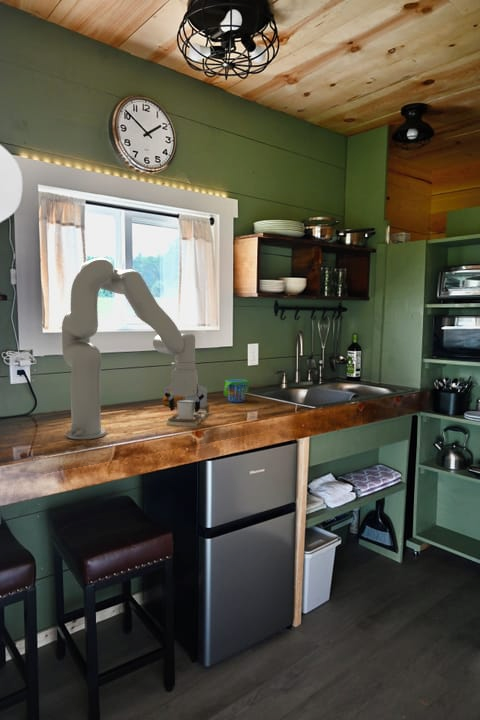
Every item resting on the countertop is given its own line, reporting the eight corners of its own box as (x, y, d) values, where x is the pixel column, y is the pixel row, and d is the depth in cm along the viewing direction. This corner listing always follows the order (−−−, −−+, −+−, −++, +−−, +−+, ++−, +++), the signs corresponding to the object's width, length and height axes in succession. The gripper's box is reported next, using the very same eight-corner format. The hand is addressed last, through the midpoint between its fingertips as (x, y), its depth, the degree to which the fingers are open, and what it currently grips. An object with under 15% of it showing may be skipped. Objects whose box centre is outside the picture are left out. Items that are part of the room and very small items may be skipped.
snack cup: (240, 398, 244) (240, 377, 243) (255, 401, 236) (256, 379, 235) (216, 401, 233) (216, 380, 232) (231, 405, 225) (232, 383, 224)
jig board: (195, 426, 184) (195, 415, 183) (166, 424, 186) (166, 414, 185) (209, 414, 205) (209, 404, 205) (183, 412, 207) (183, 403, 207)
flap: (206, 386, 204) (207, 386, 205) (185, 385, 205) (186, 385, 206) (205, 409, 203) (206, 409, 204) (184, 408, 205) (185, 408, 206)
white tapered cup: (198, 419, 190) (198, 401, 189) (184, 422, 185) (184, 403, 184) (186, 416, 194) (187, 399, 194) (173, 419, 190) (173, 401, 189)
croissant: (177, 404, 237) (175, 388, 237) (202, 404, 228) (200, 386, 228) (155, 408, 225) (153, 390, 225) (180, 407, 216) (178, 389, 216)
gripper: (159, 366, 186) (159, 411, 187) (204, 368, 183) (204, 413, 184) (166, 364, 193) (166, 407, 195) (209, 366, 190) (209, 410, 192)
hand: (184, 410), depth 189 cm, fingers open, 9 cm apart
